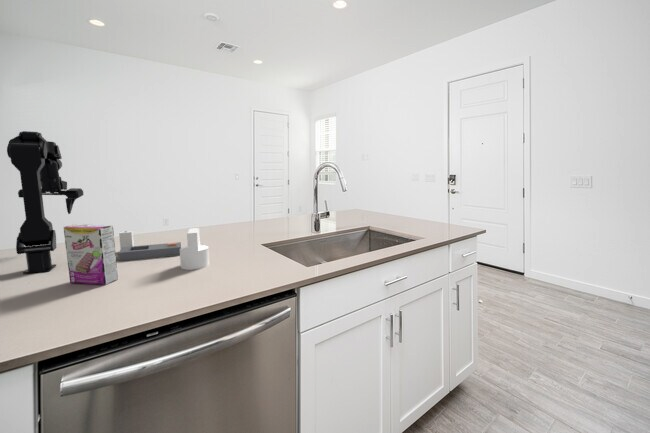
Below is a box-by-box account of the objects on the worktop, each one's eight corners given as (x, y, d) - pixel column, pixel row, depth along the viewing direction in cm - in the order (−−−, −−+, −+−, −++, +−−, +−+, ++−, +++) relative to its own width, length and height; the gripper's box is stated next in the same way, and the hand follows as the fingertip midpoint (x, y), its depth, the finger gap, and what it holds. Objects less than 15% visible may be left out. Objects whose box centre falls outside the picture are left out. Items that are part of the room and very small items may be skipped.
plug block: (133, 252, 121) (131, 231, 120) (121, 253, 119) (119, 232, 118) (134, 250, 124) (132, 229, 123) (122, 251, 123) (120, 230, 121)
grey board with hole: (198, 253, 120) (197, 243, 120) (119, 261, 109) (118, 250, 109) (197, 247, 128) (196, 238, 128) (123, 254, 117) (122, 245, 117)
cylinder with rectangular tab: (182, 262, 108) (180, 228, 106) (210, 260, 110) (208, 227, 109) (178, 270, 99) (176, 233, 97) (208, 268, 102) (206, 232, 100)
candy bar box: (68, 284, 87) (61, 226, 85) (84, 278, 92) (78, 223, 89) (105, 285, 86) (99, 227, 83) (119, 279, 91) (113, 224, 88)
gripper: (86, 172, 130) (90, 208, 134) (30, 170, 124) (36, 208, 128) (75, 177, 120) (80, 215, 124) (13, 175, 113) (21, 216, 118)
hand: (55, 213), depth 124 cm, fingers open, 9 cm apart
